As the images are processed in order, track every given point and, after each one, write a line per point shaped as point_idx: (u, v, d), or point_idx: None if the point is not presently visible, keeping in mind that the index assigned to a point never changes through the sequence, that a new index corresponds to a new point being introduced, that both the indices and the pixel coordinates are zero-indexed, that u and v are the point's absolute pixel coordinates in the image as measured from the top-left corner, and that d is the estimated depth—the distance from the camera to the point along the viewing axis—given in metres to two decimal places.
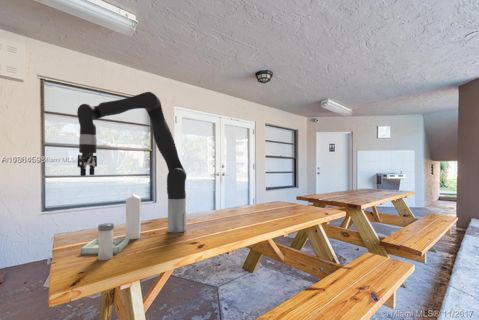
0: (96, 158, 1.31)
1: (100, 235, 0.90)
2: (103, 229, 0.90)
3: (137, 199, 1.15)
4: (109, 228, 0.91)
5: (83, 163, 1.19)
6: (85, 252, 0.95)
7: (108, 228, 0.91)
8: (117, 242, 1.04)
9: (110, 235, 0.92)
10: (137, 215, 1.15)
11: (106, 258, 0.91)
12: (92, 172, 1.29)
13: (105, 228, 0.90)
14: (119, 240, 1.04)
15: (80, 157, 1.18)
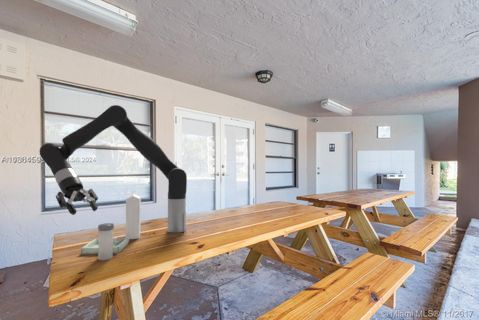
0: (92, 191, 1.06)
1: (100, 235, 0.90)
2: (103, 229, 0.90)
3: (137, 199, 1.15)
4: (109, 228, 0.91)
5: (63, 199, 0.93)
6: (85, 252, 0.95)
7: (108, 228, 0.91)
8: (117, 242, 1.04)
9: (110, 235, 0.92)
10: (137, 215, 1.15)
11: (106, 258, 0.91)
12: (94, 206, 1.01)
13: (105, 228, 0.90)
14: (119, 240, 1.04)
15: (57, 196, 0.94)
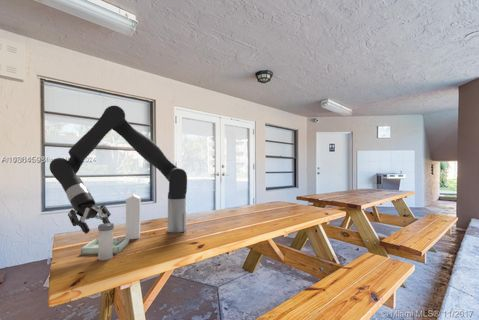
0: (104, 207, 1.02)
1: (100, 235, 0.90)
2: (103, 229, 0.90)
3: (137, 199, 1.15)
4: (109, 228, 0.91)
5: (76, 218, 0.90)
6: (85, 252, 0.95)
7: (108, 228, 0.91)
8: (117, 242, 1.04)
9: (110, 235, 0.92)
10: (137, 215, 1.15)
11: (106, 258, 0.91)
12: None
13: (105, 228, 0.90)
14: (119, 240, 1.04)
15: (70, 214, 0.91)
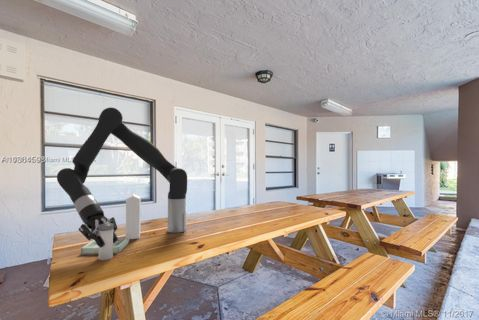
0: (114, 220, 0.99)
1: (100, 235, 0.90)
2: (103, 229, 0.90)
3: (137, 199, 1.15)
4: (109, 228, 0.91)
5: (90, 232, 0.88)
6: (85, 252, 0.95)
7: (108, 228, 0.91)
8: (117, 242, 1.04)
9: (110, 235, 0.92)
10: (137, 215, 1.15)
11: (106, 258, 0.91)
12: (113, 238, 0.94)
13: (105, 228, 0.90)
14: (119, 240, 1.04)
15: (81, 229, 0.88)
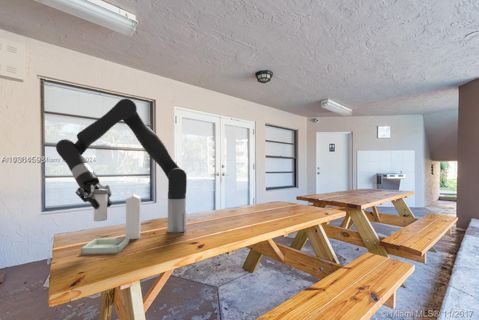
0: (108, 187, 1.08)
1: (95, 198, 0.99)
2: (98, 193, 0.98)
3: (137, 199, 1.15)
4: (103, 192, 0.99)
5: (86, 195, 0.97)
6: (85, 252, 0.95)
7: (103, 192, 0.99)
8: (117, 242, 1.04)
9: (105, 199, 1.00)
10: (137, 215, 1.15)
11: (101, 219, 0.99)
12: (108, 202, 1.02)
13: (100, 192, 0.98)
14: (119, 240, 1.04)
15: (78, 192, 0.97)
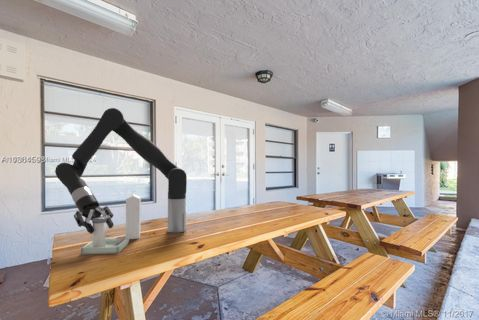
0: (108, 208, 1.08)
1: (94, 227, 0.98)
2: (96, 222, 0.98)
3: (137, 199, 1.15)
4: (102, 221, 0.99)
5: (81, 219, 0.96)
6: (85, 252, 0.95)
7: (101, 221, 0.99)
8: (117, 242, 1.04)
9: (103, 227, 1.00)
10: (137, 215, 1.15)
11: None
12: (110, 224, 1.04)
13: (98, 221, 0.98)
14: (119, 240, 1.04)
15: (75, 215, 0.97)
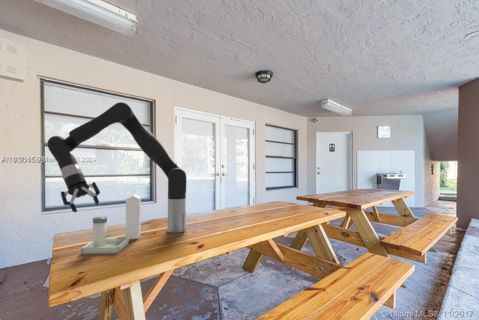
0: (95, 185, 1.14)
1: (94, 227, 0.98)
2: (97, 221, 0.98)
3: (137, 199, 1.15)
4: (102, 221, 0.99)
5: (65, 200, 1.05)
6: (85, 252, 0.95)
7: (102, 221, 0.99)
8: (117, 242, 1.04)
9: (103, 227, 1.00)
10: (137, 215, 1.15)
11: None
12: (95, 201, 1.12)
13: (99, 221, 0.98)
14: (119, 240, 1.04)
15: (61, 195, 1.06)
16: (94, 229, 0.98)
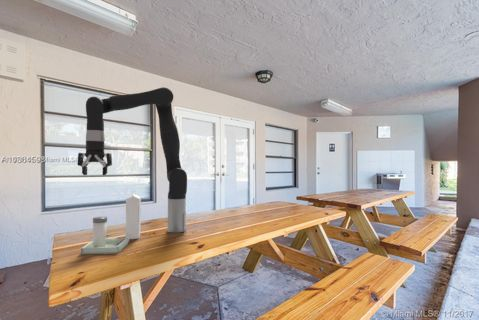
0: (108, 156, 1.13)
1: (94, 227, 0.99)
2: (97, 221, 0.98)
3: (137, 199, 1.15)
4: (102, 221, 0.99)
5: (78, 161, 1.12)
6: (85, 252, 0.95)
7: (102, 220, 0.99)
8: (117, 242, 1.04)
9: (103, 227, 1.00)
10: (137, 215, 1.15)
11: None
12: None
13: (99, 220, 0.99)
14: (119, 240, 1.04)
15: None
16: (94, 229, 0.99)
